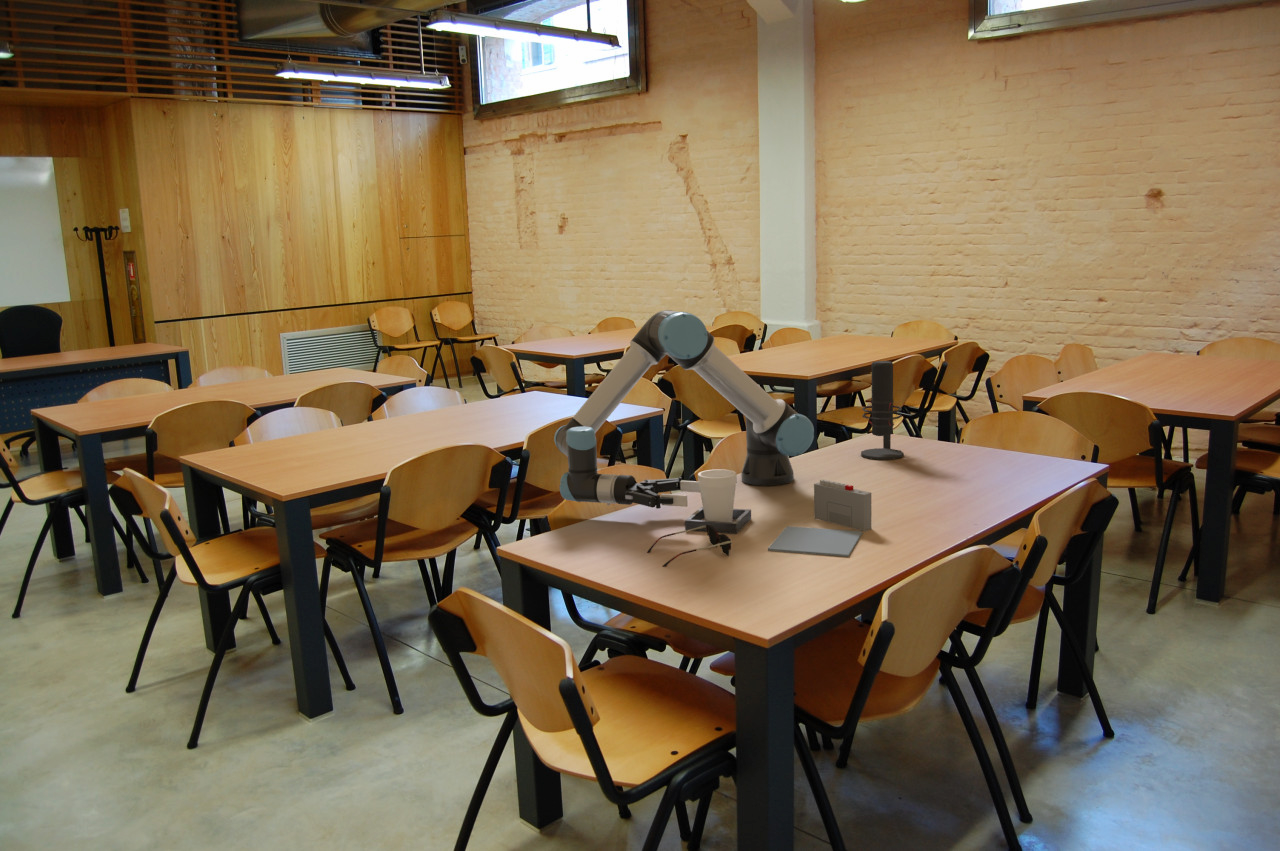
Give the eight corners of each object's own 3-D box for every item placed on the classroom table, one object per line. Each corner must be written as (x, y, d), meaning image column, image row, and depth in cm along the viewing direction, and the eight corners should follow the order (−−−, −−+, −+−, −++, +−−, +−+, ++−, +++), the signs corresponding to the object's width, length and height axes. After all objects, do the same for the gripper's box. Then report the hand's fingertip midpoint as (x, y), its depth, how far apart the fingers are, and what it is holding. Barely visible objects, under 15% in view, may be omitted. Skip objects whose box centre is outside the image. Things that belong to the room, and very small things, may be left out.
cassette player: (871, 529, 229) (871, 488, 227) (864, 531, 228) (863, 490, 226) (821, 516, 242) (821, 478, 240) (814, 518, 240) (813, 479, 238)
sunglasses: (733, 560, 212) (731, 538, 211) (665, 574, 208) (663, 553, 207) (709, 542, 225) (707, 522, 224) (645, 556, 221) (642, 535, 220)
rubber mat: (787, 528, 233) (787, 526, 233) (862, 533, 226) (862, 531, 226) (768, 550, 216) (767, 548, 216) (848, 557, 210) (848, 554, 210)
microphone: (852, 452, 311) (851, 360, 306) (889, 448, 315) (890, 358, 309) (873, 461, 298) (873, 365, 292) (912, 457, 301) (912, 362, 295)
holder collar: (702, 515, 247) (701, 506, 246) (751, 519, 242) (751, 509, 241) (685, 530, 235) (684, 520, 234) (736, 534, 230) (736, 523, 229)
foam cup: (744, 522, 240) (742, 471, 237) (727, 531, 232) (725, 479, 230) (710, 517, 245) (709, 468, 242) (692, 527, 237) (690, 476, 235)
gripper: (637, 491, 259) (712, 495, 251) (598, 516, 236) (679, 522, 228) (636, 464, 257) (711, 467, 249) (596, 486, 235) (678, 491, 227)
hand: (696, 493), depth 239 cm, fingers open, 13 cm apart
